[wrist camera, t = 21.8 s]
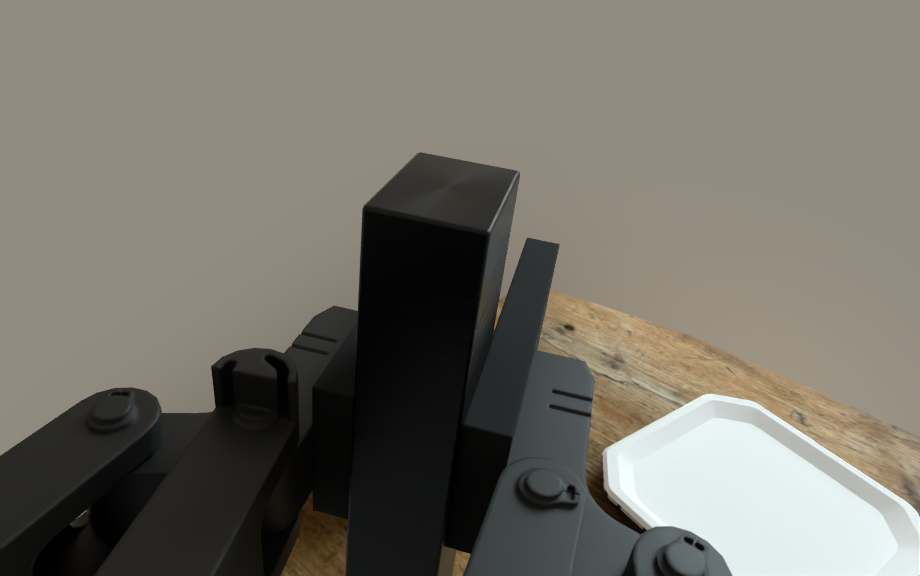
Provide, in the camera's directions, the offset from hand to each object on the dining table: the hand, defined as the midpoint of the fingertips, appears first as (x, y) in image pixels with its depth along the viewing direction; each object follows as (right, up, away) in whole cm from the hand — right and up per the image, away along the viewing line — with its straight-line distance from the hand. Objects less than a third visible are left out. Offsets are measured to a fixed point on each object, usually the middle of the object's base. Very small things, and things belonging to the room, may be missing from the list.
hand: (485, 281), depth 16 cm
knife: (-3, -16, +3) cm, 16 cm away
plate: (+23, -18, +36) cm, 46 cm away
